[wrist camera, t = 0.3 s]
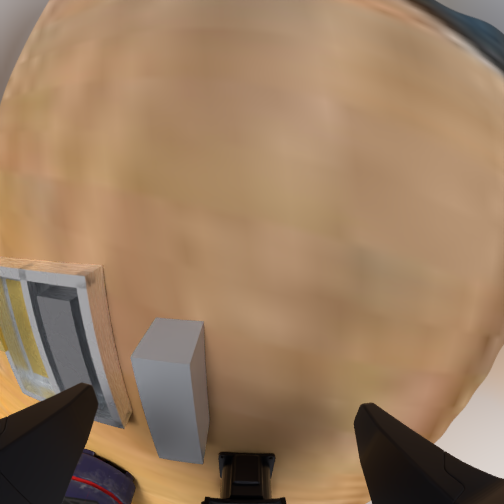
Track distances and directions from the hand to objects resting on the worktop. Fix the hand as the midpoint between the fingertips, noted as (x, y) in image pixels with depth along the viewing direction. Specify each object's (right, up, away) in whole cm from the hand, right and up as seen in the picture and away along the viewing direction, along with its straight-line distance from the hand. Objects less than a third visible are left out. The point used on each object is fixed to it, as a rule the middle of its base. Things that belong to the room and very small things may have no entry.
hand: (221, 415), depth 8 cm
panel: (-5, -6, +16) cm, 18 cm away
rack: (-19, -4, +15) cm, 24 cm away
